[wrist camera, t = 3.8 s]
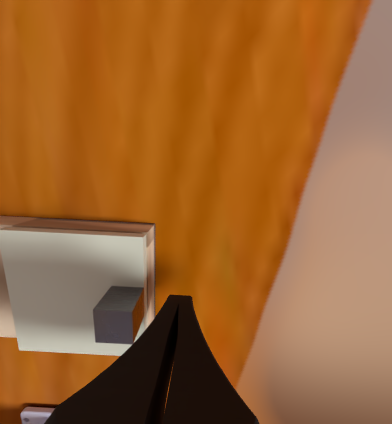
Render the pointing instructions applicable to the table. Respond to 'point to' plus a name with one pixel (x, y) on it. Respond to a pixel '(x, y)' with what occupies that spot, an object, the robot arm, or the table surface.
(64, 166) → the table surface
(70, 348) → the sliding cover
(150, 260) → the sliding lid box
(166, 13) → the table surface
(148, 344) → the robot arm
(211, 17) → the table surface
